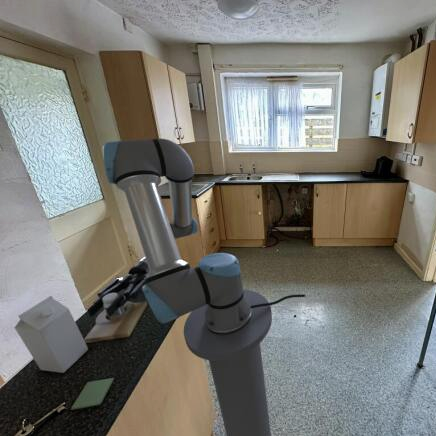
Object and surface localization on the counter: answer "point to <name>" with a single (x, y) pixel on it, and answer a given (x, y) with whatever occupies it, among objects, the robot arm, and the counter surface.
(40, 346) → the milk carton
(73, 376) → the counter surface
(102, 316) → the board
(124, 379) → the counter surface
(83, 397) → the pad
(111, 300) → the pill bottle
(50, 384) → the counter surface
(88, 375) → the counter surface
